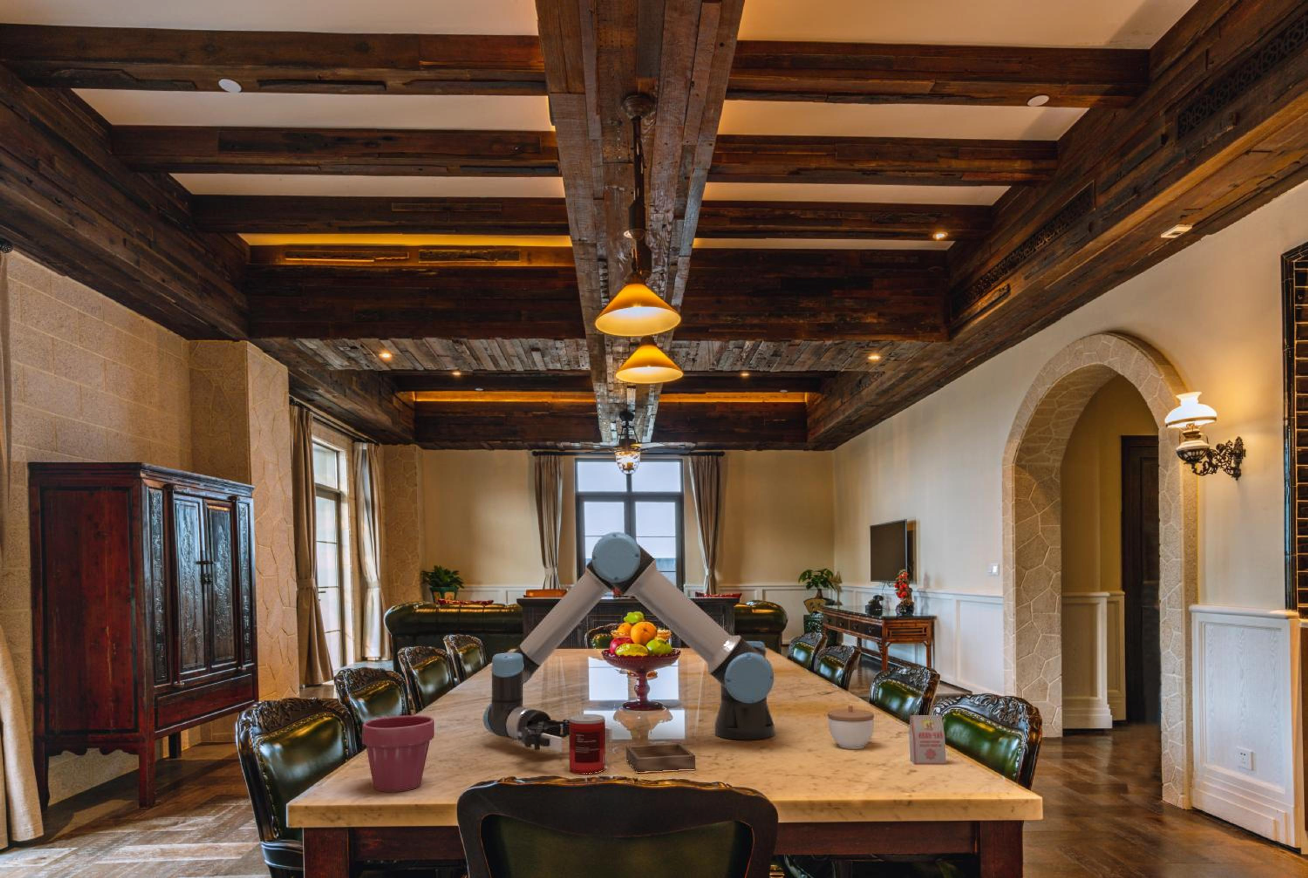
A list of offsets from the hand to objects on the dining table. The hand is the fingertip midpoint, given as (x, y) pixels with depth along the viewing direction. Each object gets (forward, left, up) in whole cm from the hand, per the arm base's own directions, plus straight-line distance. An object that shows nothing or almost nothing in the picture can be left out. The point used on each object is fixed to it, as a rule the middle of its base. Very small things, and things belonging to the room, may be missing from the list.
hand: (586, 739), depth 189 cm
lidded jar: (-64, -6, -7) cm, 65 cm away
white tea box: (-73, +13, -7) cm, 75 cm away
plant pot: (+39, +3, -7) cm, 39 cm away
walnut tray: (-16, 0, -6) cm, 17 cm away
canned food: (0, 0, -7) cm, 7 cm away
